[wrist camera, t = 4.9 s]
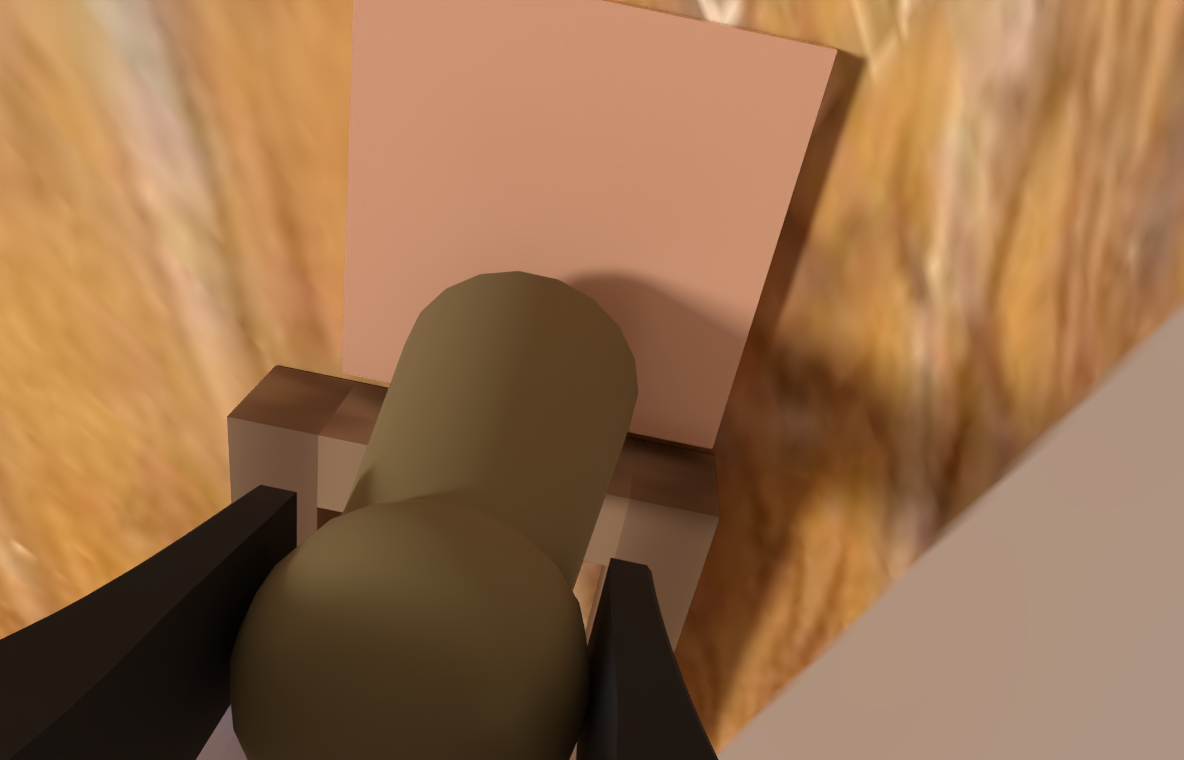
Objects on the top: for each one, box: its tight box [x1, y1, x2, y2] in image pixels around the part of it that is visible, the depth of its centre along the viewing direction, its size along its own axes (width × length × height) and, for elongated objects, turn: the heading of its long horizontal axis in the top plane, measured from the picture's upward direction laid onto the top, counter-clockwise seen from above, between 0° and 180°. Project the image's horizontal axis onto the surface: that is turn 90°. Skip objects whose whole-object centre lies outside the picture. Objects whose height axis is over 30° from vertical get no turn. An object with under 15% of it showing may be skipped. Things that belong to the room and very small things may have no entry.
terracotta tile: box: [342, 0, 838, 449], centre depth 21 cm, size 11×11×1 cm
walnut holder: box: [227, 366, 720, 760], centre depth 26 cm, size 14×14×3 cm
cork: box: [229, 271, 638, 760], centre depth 15 cm, size 6×6×11 cm
